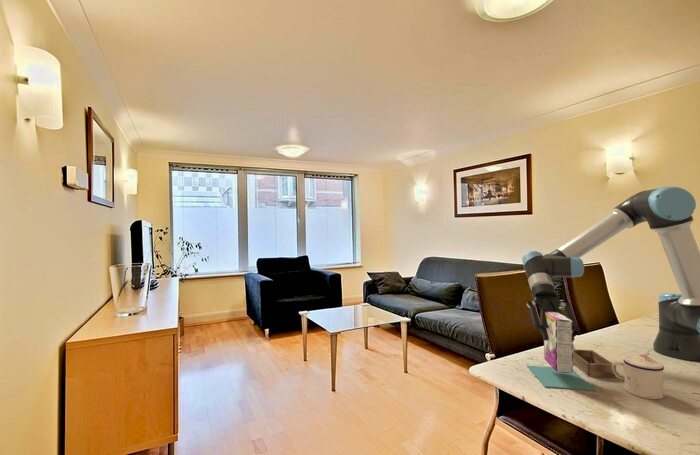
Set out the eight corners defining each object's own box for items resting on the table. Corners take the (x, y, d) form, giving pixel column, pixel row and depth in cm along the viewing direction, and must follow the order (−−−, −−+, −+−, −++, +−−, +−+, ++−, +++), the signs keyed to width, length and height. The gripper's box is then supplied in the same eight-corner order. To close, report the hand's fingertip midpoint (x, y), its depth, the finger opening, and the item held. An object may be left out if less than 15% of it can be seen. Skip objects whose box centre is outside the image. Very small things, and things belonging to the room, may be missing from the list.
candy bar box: (542, 359, 117) (542, 311, 117) (559, 360, 116) (559, 311, 116) (555, 372, 106) (555, 319, 106) (573, 374, 105) (573, 320, 105)
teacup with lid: (667, 393, 100) (666, 353, 100) (661, 403, 94) (660, 361, 94) (616, 379, 109) (616, 343, 109) (607, 388, 103) (607, 349, 103)
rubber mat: (570, 369, 117) (570, 368, 117) (595, 390, 102) (595, 389, 102) (527, 366, 120) (527, 365, 120) (544, 387, 104) (544, 386, 104)
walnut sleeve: (592, 361, 125) (592, 350, 125) (615, 377, 111) (615, 365, 111) (567, 359, 126) (567, 349, 126) (587, 376, 112) (587, 363, 112)
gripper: (566, 295, 125) (589, 357, 108) (513, 293, 128) (528, 353, 111) (573, 283, 119) (599, 346, 103) (517, 281, 122) (534, 342, 106)
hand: (562, 350), depth 107 cm, fingers closed on candy bar box, 5 cm apart
